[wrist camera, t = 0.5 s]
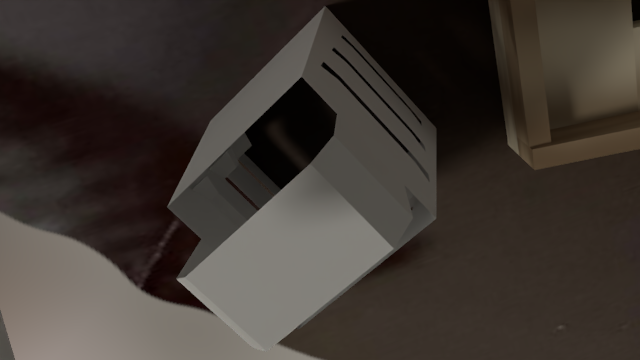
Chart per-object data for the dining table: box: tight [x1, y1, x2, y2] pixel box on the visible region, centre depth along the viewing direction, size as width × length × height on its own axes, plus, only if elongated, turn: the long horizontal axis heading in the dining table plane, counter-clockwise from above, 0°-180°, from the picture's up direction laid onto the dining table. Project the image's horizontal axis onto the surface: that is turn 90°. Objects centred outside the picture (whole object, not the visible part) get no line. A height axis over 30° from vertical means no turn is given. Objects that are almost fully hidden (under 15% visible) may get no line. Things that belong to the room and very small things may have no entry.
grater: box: [167, 6, 436, 351], centre depth 26 cm, size 10×10×20 cm
